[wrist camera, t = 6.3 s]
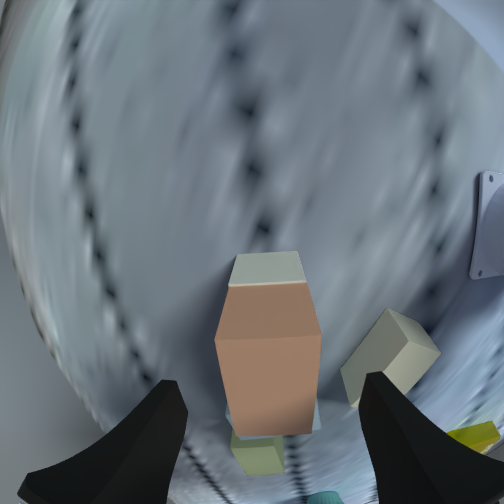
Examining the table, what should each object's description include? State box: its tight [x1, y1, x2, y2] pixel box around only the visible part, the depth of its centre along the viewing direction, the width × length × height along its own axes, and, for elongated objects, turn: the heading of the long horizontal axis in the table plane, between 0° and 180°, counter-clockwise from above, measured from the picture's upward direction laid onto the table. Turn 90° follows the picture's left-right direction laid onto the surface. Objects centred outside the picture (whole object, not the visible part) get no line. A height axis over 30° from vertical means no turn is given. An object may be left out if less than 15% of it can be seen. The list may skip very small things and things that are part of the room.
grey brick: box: [228, 251, 306, 286], centre depth 15 cm, size 6×4×4 cm, turn 5°
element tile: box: [447, 421, 501, 455], centre depth 24 cm, size 15×15×5 cm
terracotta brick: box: [215, 282, 322, 436], centre depth 11 cm, size 6×4×4 cm, turn 4°
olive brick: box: [230, 429, 284, 476], centre depth 20 cm, size 6×4×4 cm, turn 12°
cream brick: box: [340, 308, 441, 408], centre depth 16 cm, size 6×4×4 cm, turn 156°
